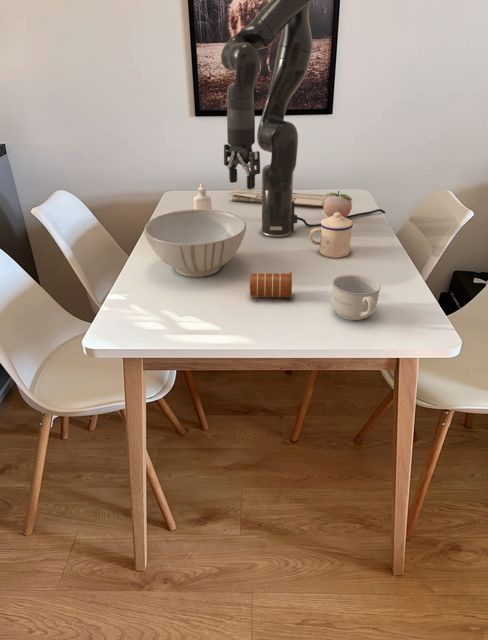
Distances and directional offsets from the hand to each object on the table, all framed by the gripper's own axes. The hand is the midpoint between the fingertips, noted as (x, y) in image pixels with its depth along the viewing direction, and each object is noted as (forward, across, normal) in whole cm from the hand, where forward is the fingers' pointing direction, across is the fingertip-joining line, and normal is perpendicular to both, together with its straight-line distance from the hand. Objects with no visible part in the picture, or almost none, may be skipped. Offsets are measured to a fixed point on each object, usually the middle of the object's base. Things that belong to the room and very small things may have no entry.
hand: (241, 185), depth 160 cm
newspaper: (+17, +24, -33) cm, 45 cm away
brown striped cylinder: (+17, -34, +16) cm, 41 cm away
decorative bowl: (+17, -8, +21) cm, 28 cm away
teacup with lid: (+17, -22, -15) cm, 32 cm away
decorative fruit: (+17, -4, -35) cm, 39 cm away
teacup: (+17, -54, +7) cm, 57 cm away
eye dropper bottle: (+17, +24, -1) cm, 30 cm away
